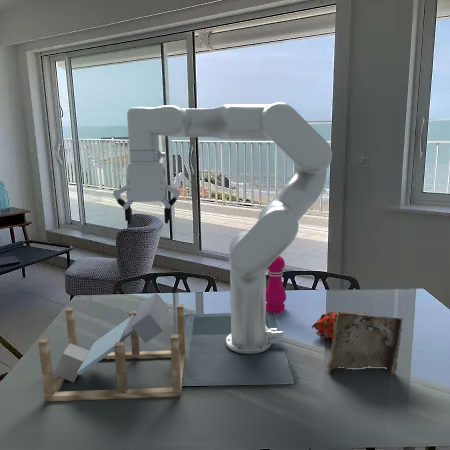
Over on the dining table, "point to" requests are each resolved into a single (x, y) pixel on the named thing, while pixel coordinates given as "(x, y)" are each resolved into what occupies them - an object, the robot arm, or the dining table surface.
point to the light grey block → (71, 362)
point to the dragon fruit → (326, 325)
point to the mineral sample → (365, 341)
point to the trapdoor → (130, 330)
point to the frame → (117, 366)
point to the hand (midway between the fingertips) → (148, 223)
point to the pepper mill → (275, 287)
